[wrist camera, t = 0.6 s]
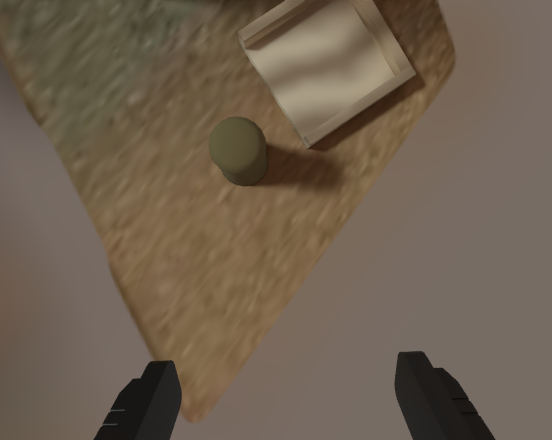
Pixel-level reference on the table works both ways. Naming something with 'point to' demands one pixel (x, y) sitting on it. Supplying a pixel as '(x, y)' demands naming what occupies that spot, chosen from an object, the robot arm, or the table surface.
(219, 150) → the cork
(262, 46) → the beige square tray
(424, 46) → the table surface
